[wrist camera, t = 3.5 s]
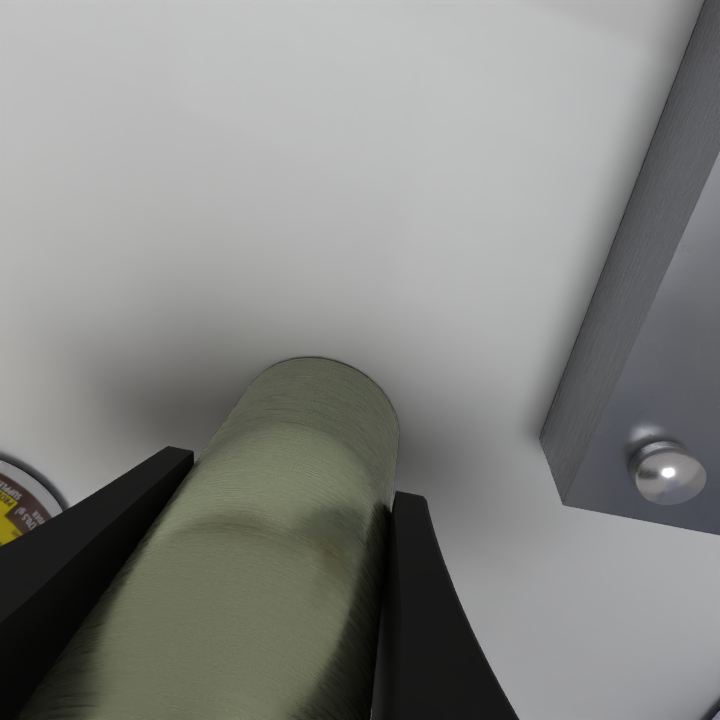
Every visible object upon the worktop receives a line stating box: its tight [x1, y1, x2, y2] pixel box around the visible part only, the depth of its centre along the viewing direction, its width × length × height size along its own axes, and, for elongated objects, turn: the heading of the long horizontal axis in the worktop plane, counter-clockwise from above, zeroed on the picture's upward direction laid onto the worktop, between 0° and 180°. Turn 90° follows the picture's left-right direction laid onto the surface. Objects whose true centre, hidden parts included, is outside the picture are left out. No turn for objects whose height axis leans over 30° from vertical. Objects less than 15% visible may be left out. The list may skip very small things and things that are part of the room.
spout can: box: [15, 358, 399, 720], centre depth 9 cm, size 5×5×10 cm
